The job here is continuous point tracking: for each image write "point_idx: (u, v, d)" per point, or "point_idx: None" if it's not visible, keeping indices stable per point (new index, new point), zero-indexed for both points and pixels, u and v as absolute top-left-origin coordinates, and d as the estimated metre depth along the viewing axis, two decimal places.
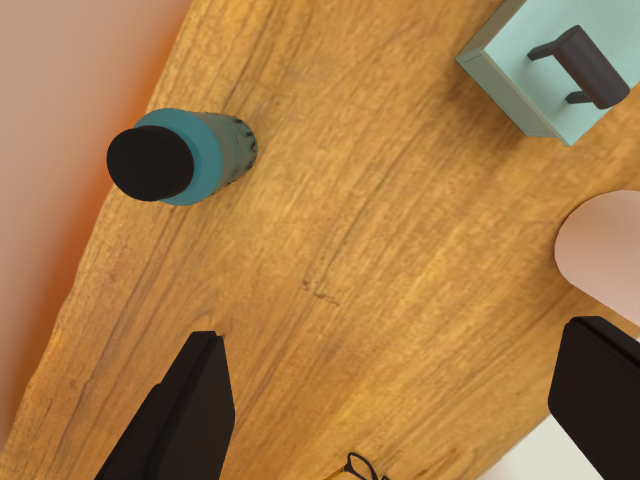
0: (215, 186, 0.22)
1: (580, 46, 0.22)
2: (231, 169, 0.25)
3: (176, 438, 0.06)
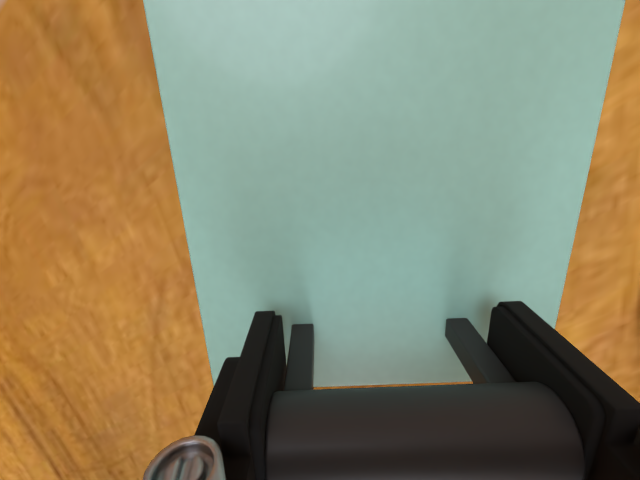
0: None
1: None
2: None
3: (266, 396, 0.07)
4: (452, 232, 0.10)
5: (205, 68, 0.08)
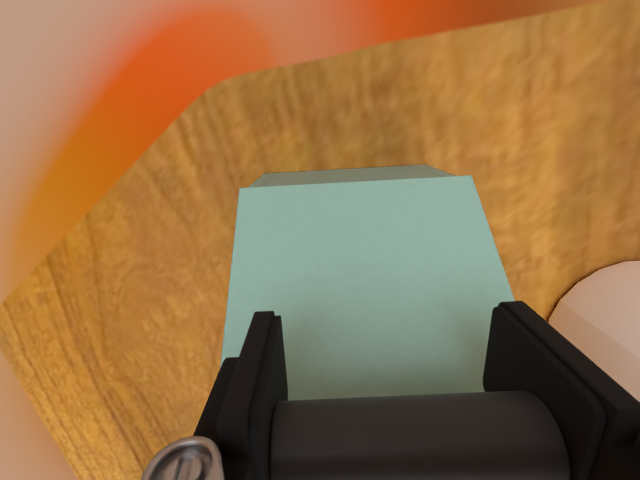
0: None
1: (316, 457, 0.07)
2: None
3: (265, 397, 0.07)
4: (428, 338, 0.13)
5: (261, 241, 0.15)
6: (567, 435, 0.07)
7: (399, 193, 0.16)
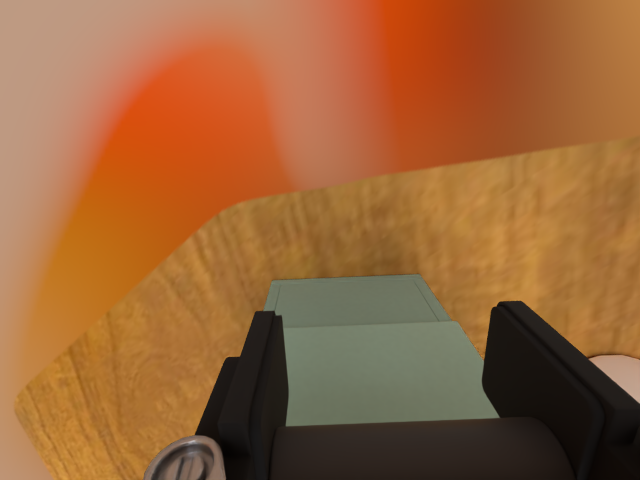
0: None
1: (316, 451, 0.07)
2: None
3: (266, 396, 0.07)
4: None
5: None
6: (566, 435, 0.07)
7: (395, 333, 0.18)
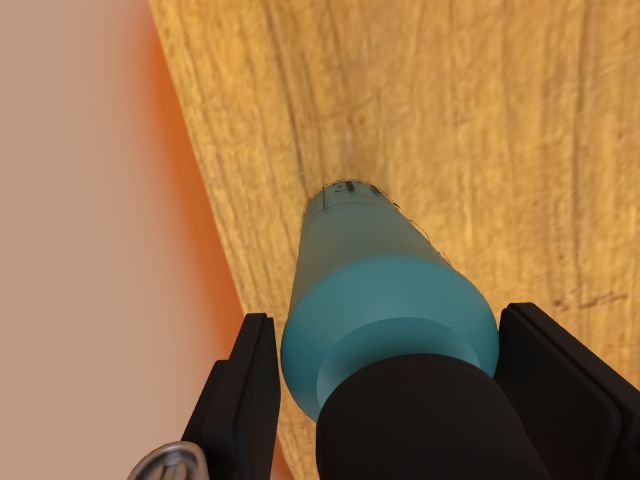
0: (498, 349, 0.09)
1: None
2: None
3: (253, 401, 0.07)
4: None
5: None
6: (581, 439, 0.07)
7: None
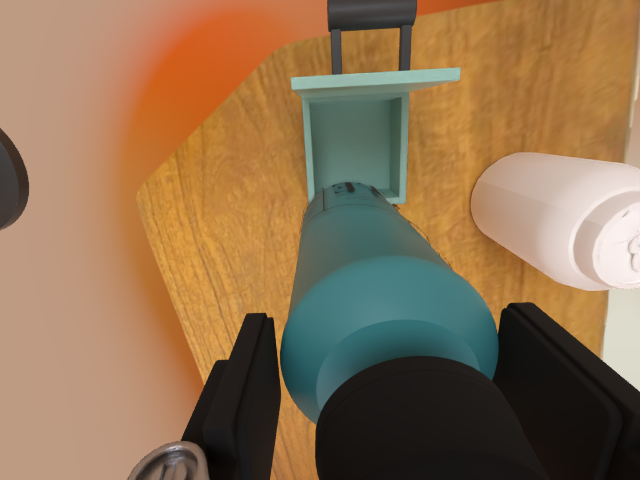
0: (498, 351, 0.09)
1: None
2: None
3: (254, 401, 0.07)
4: None
5: None
6: (581, 439, 0.07)
7: None
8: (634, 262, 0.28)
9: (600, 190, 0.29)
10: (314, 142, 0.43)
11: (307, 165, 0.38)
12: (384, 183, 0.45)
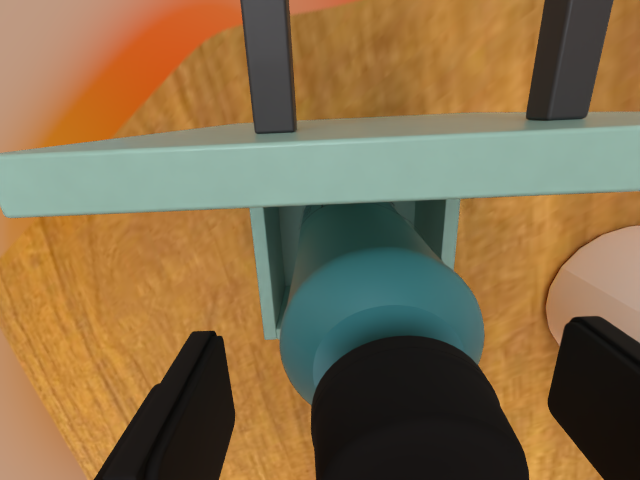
0: (483, 337, 0.10)
1: None
2: None
3: (176, 438, 0.06)
4: (460, 118, 0.09)
5: None
6: None
7: None
8: None
9: None
10: None
11: (258, 267, 0.20)
12: None
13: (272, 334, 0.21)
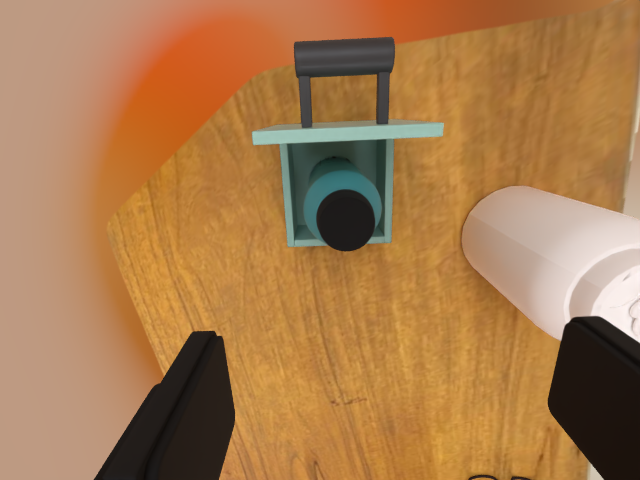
0: (381, 205, 0.26)
1: (310, 41, 0.20)
2: None
3: (176, 438, 0.06)
4: None
5: None
6: None
7: None
8: (635, 327, 0.26)
9: (599, 246, 0.26)
10: (295, 173, 0.41)
11: (285, 203, 0.36)
12: None
13: (292, 243, 0.37)
